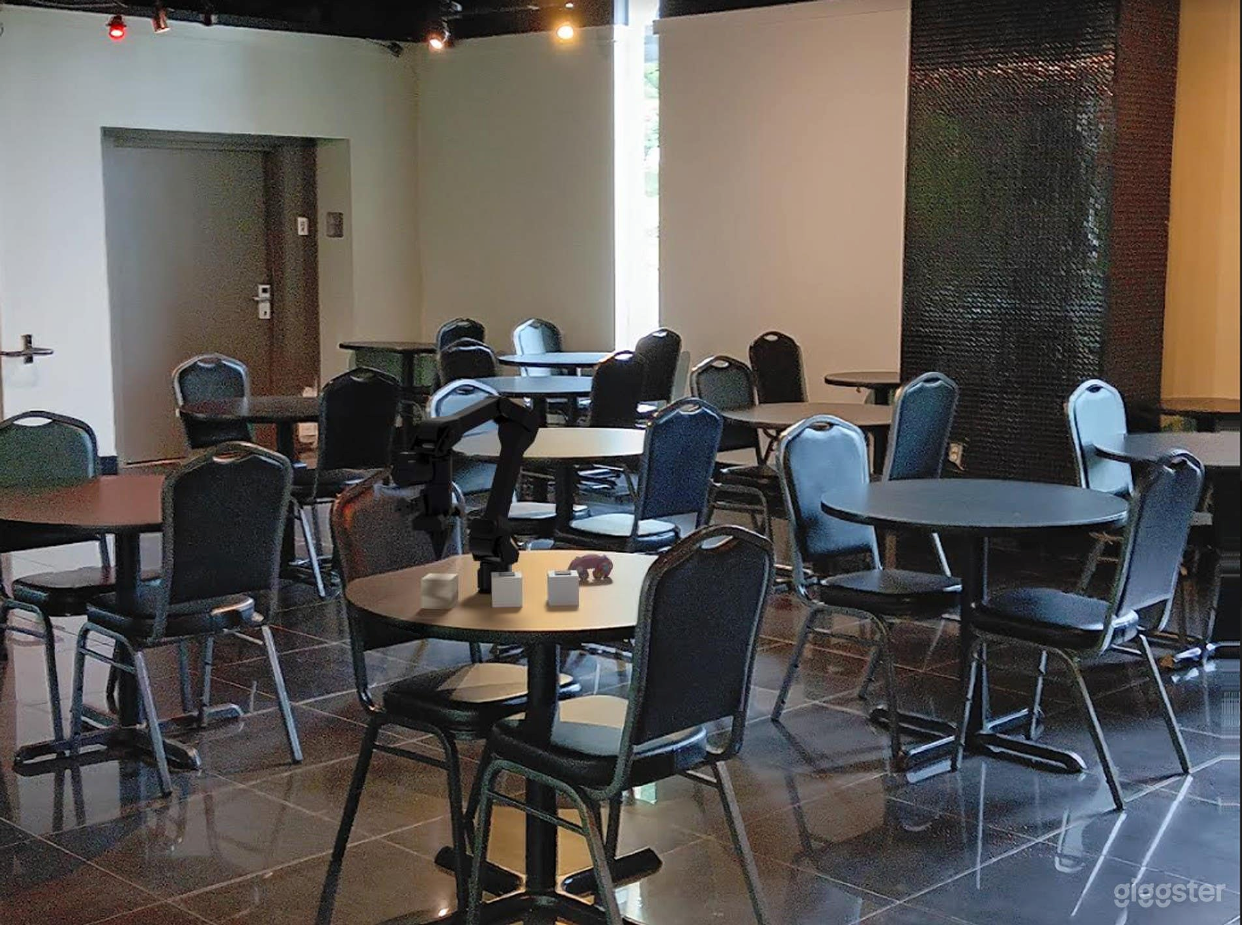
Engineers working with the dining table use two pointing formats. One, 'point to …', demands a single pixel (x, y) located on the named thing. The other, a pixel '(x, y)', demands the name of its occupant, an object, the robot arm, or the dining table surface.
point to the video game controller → (591, 566)
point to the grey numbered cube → (563, 587)
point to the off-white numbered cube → (507, 589)
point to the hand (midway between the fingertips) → (439, 559)
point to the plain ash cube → (439, 591)
